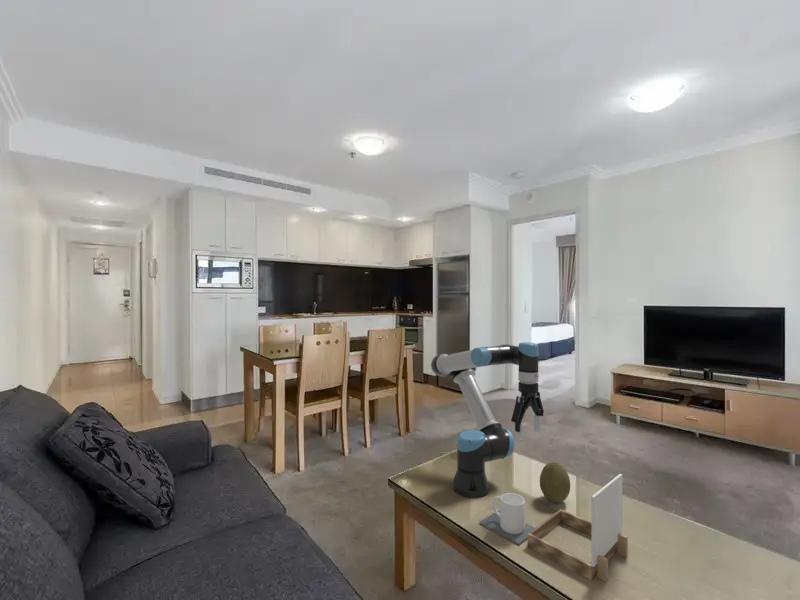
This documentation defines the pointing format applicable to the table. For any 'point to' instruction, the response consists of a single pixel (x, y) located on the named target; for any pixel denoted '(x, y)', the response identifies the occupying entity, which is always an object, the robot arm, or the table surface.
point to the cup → (511, 512)
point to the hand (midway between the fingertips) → (528, 435)
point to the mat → (494, 525)
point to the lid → (607, 525)
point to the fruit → (554, 482)
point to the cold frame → (560, 555)
